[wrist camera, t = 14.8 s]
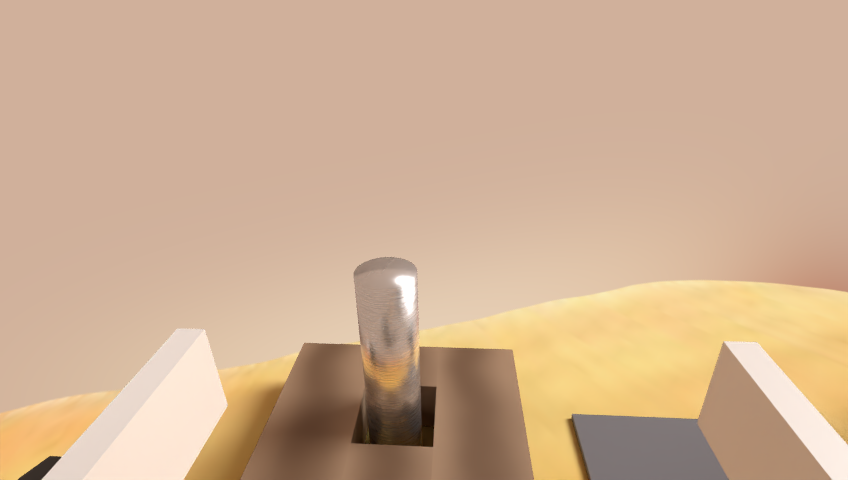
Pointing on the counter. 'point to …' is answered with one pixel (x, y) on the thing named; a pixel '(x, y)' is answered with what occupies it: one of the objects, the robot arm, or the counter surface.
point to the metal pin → (390, 349)
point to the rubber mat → (645, 448)
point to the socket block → (392, 464)
